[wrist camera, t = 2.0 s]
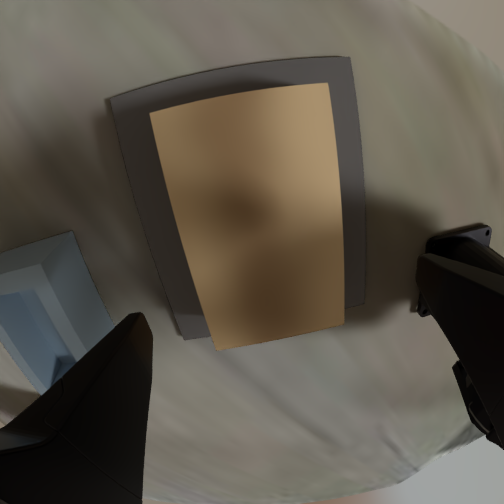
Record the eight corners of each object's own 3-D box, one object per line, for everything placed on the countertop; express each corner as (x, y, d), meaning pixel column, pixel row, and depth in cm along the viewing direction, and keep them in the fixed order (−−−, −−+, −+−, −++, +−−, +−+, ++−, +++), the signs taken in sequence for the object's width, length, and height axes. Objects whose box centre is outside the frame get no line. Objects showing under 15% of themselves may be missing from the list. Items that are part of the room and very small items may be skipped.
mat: (346, 57, 13) (349, 57, 13) (362, 300, 20) (364, 303, 19) (112, 98, 13) (110, 98, 12) (184, 336, 20) (184, 340, 19)
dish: (72, 230, 16) (40, 263, 12) (133, 360, 20) (122, 403, 17) (-1, 253, 16) (-33, 283, 12) (62, 365, 20) (46, 402, 17)
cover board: (307, 86, 13) (327, 82, 10) (328, 293, 19) (344, 324, 16) (163, 112, 13) (149, 113, 10) (216, 316, 19) (216, 350, 16)
